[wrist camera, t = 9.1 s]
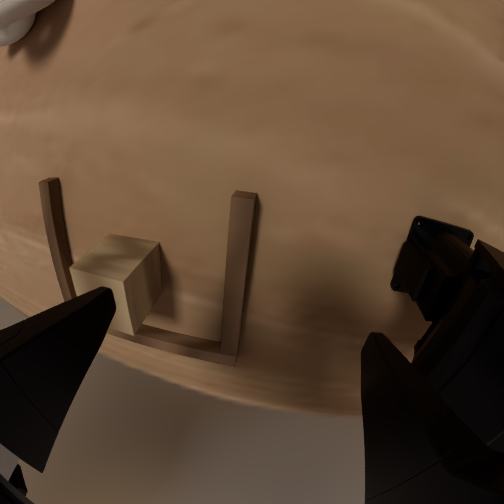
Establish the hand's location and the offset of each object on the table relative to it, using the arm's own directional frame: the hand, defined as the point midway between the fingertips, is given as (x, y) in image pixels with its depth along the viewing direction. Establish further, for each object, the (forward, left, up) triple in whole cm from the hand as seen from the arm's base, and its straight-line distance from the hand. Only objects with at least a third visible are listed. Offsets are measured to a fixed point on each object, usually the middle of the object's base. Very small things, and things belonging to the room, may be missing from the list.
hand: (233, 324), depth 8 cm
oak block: (+11, +6, -12) cm, 17 cm away
